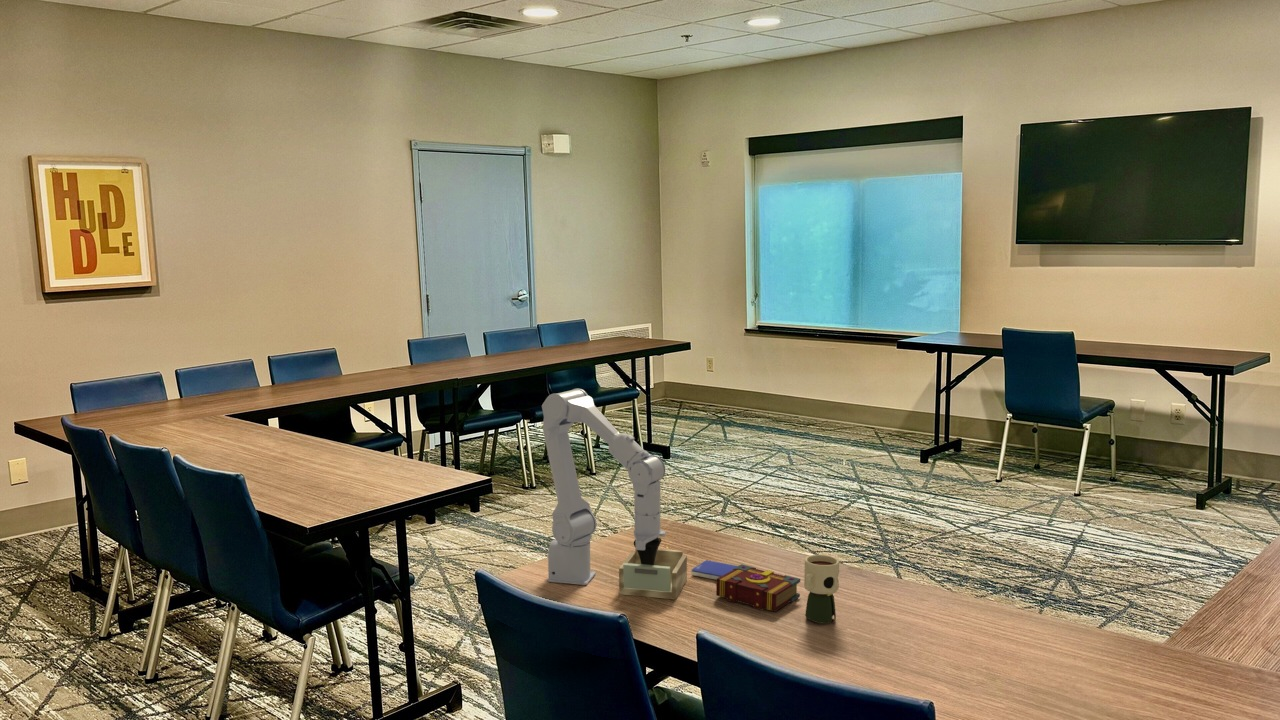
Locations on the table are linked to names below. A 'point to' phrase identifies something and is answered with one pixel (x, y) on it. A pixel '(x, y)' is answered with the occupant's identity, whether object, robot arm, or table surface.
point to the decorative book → (757, 587)
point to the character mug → (821, 587)
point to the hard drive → (712, 569)
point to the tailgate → (647, 577)
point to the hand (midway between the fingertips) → (647, 571)
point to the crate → (662, 558)
